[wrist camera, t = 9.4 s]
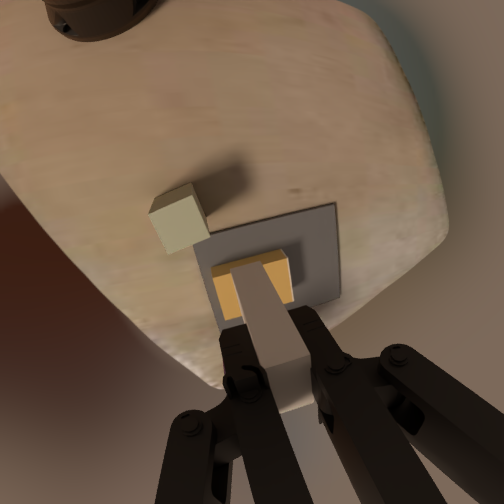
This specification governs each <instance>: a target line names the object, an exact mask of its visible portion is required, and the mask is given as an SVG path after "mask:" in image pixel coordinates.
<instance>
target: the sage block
mask: <svg viewBox="0 0 504 504" xmlns="http://www.w3.org/2000/svg"><path fill="white" fill-rule="evenodd" d="M148 215H149V218H150V220H151V222H152V224H153V226H154V228H155V230H156V232H157V234H158V236H159V238H160V240H161V242H162V244H163V246H164V248H165V250H166V252H167V254H168V255H169V254H172V253H174V252H176V251H179V250H181V249H183V248H186V247H188V246H190V245H193V244H195V243H198V242H200V241H202V240H205V239H207V238H210V233H209V228H208V224H207V219H206V216H205V214H204V211H203V209H202V207H201V204H200V202H199V200H198V197H197V195H196V193H195V190H194V188H193V185H192V183H188V184H186V185H184V186H181V187H179V188H177V189H175V190H172V191H170V192H168V193H165V194H163V195H161V196H159V197H157V198H155V199H154V201H153V204H152V206H151V208H150V211H149V213H148Z"/></svg>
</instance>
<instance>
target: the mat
mask: <svg viewBox="0 0 504 504" xmlns="http://www.w3.org/2000/svg"><path fill="white" fill-rule="evenodd" d="M193 248H194V251H195V254H196V258H197V261H198V265H199V268H200V271H201V274H202V278H203V281H204V284H205V287H206V291H207V294H208V297H209V300H210V303H211V306H212V309H213V312H214V315H215V318H216V321H217V325H218V328H219V331H220V333H221V332H222V330H223V329H227V328H231V327H234V326H238V325H242V324H244V321H243V317H242V316H240V317H237V318H233V319H229V320H225V318H224V315H223V312H222V308H221V305H220V302H219V299H218V295H217V292H216V288H215V285H214V282H213V278H212V273H211V268H210V267H214V266H218V265H222V264H225V263H229V262H233V261H237V260H241V259H244V258H248V257H252V256H256V255H259V254H263V253H267V252H271V251H274V250H278V249H282V250H283V252H284V253H285V254H286V256H287V257H288V261H289V268H290V275H291V282H292V290H293V297H294V301H293V302H289V303H286V304H284V306H285V308H286V310H287V311H288V310H291V309H294V308H298V307H301V306H304V305H307V306H308V307H313V306H316V305H319V304H322V303H325V302H329V301H332V300H335V299H338V298H340V289H339V264H338V245H337V230H336V217H335V205H334V204H333V203H332V204H328V205H323V206H319V207H315V208H311V209H306V210H302V211H298V212H294V213H290V214H286V215H281V216H277V217H273V218H269V219H265V220H261V221H257V222H253V223H249V224H245V225H241V226H237V227H233V228H229V229H226V230H222V231H218V232H214V233H210V238H207V239H205V240H202V241H200V242H198V243H195V244H193Z"/></svg>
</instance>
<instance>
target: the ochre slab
mask: <svg viewBox="0 0 504 504" xmlns="http://www.w3.org/2000/svg"><path fill="white" fill-rule="evenodd" d="M257 261H261V263H262V265H263V267H264V269H265V271H266V273H267V274H268V276H269V278H270V280H271V282H272V284H273V286H274V287H275V289H276V291H277V293H278V295H279V297H280V299H281V300H282V302H283V304H286V303H289V302H293V301H294V297H293V290H292V282H291V275H290V268H289V261H288V257H287V256H286V254H285V253H284V252H283V250H282V249H278V250H274V251H271V252H267V253H263V254H259V255H256V256H252V257H248V258H244V259H241V260H237V261H233V262H229V263H225V264H222V265H218V266H214V267H210V268H211V273H212V278H213V282H214V285H215V288H216V292H217V295H218V299H219V302H220V305H221V308H222V312H223V315H224V318H225V320H229V319H233V318H237V317H240V316H242V314H241V311H240V307H239V303H238V299H237V295H236V291H235V288H234V284H233V280H232V276H231V272H230V269H231V268H235V267H239V266H242V265H246V264H250V263H254V262H257Z"/></svg>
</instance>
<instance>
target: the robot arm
mask: <svg viewBox="0 0 504 504" xmlns="http://www.w3.org/2000/svg"><path fill="white" fill-rule="evenodd" d="M42 1H44V2H45V6H46V10H47V14H48V18H49V21H50V23H51V24H52V26H53V27H54V28H55V29H56V30H57V31H58V32H59V33H61V34H62V35H64V36H65V37H67V38H69V39H72V40H75V41H80V42H95V41H100V40H105V39H108V38H111V37H114V36H116V35H119V34H121V33H123V32H125V31H126V30H128V29H130V28H131V27H133V26H134V25H136V24H137V23H138V22H140V21H141V20H142V19H143V18H144V17H145V16H146V15H147V14H148V13H149V12H150V11H151V10H152V9H153V7H154V6H155V4H156V3H157V1H158V0H42ZM230 272H231V276H232V280H233V284H234V288H235V291H236V295H237V299H238V303H239V307H240V311H241V314H242V317H243V321H244V324H242V325H238V326H234V327H231V328H227V329H223V330H222V332H221V335H220V338H219V342H220V347H221V352H222V357H223V362H224V367H225V372H226V373H225V375H224V377H223V386H224V389H225V391H226V393H227V396H226V398H225V399H224V400H223V401H222V403H221V404H219V405H218V406H216V407H215V408H213V409H211V410H209V411H207V412H205V413H204V412H203V411H200V410H188V411H185V412H183V413H181V414H179V415H178V416H177V417H176V418H175V419H174V421H173V423H172V425H171V428H170V432H169V437H168V441H167V446H166V450H165V455H164V460H163V464H162V469H161V474H160V479H159V484H158V489H157V494H156V499H155V504H230V496H231V482H232V467H233V460H234V459H236V458H238V457H240V456H241V455H242V457H243V461H244V464H245V469H246V472H247V476H248V480H249V484H250V488H251V491H252V495H253V499H254V502H255V504H314V503H313V501H312V498H311V496H310V493H309V491H308V488H307V485H306V483H305V480H304V478H303V475H302V472H301V470H300V467H299V464H298V462H297V459H296V457H295V454H294V451H293V448H292V446H291V444H290V441H289V438H288V435H287V432H286V430H285V427H284V424H283V421H282V419H281V416H280V413H283V412H286V411H290V410H293V409H296V408H299V407H302V406H305V405H308V404H311V403H313V402H314V398H315V400H316V402H317V404H318V419H319V424H321V423H322V422H323V424H324V426H325V428H326V430H327V432H328V435H329V437H330V439H331V441H332V443H333V445H334V447H335V449H336V451H337V454H338V456H339V458H340V460H341V462H342V464H343V466H344V469H345V471H346V473H347V475H348V477H349V479H350V481H351V483H352V486H353V488H354V489H355V492H356V494H357V496H358V498H359V500H360V502H361V504H447V503H446V501H445V499H444V498H443V496H442V494H441V493H440V491H439V489H438V488H437V486H436V484H435V483H434V481H433V479H432V478H431V476H430V475H429V473H428V471H427V470H426V468H425V467H424V465H423V463H422V462H421V460H420V459H419V457H418V455H417V454H416V452H415V451H414V449H413V448H412V446H411V444H412V445H413V446H414V447H415V448H416V449H417V450H418V451H419V452H421V453H422V454H423V455H424V456H425V457H426V458H427V459H429V460H430V461H431V462H432V463H433V464H434V465H435V466H436V467H437V468H439V469H440V470H441V471H442V472H443V473H444V474H445V475H447V476H448V477H449V478H450V479H451V480H452V481H454V482H455V483H456V484H457V485H458V486H459V487H461V488H462V489H463V490H464V491H465V492H466V493H468V494H469V495H470V496H471V497H472V498H474V499H475V500H476V501H477V502H478V503H479V504H504V414H503V413H501V412H500V411H498V410H497V409H496V408H495V407H493V406H492V405H491V404H489V403H488V402H487V401H485V400H484V399H482V398H481V397H479V396H478V395H477V394H475V393H474V392H473V391H471V390H470V389H469V388H467V387H466V386H464V385H463V384H462V383H460V382H459V381H458V380H456V379H455V378H453V377H452V376H451V375H449V374H448V373H446V372H445V371H444V370H442V369H441V368H440V367H438V366H437V365H435V364H434V363H433V362H431V361H430V360H428V359H427V358H426V357H424V356H423V355H421V354H420V353H418V352H417V351H416V350H414V349H413V348H411V347H409V346H407V345H404V344H392V345H390V346H388V347H386V348H385V349H384V350H383V351H382V352H381V355H380V357H373V358H364V359H358V358H353V357H352V356H351V355H349V354H347V353H344V352H342V350H341V349H340V347H339V346H338V344H337V343H336V341H335V340H334V338H333V337H332V335H331V334H330V332H329V331H328V329H327V328H326V327H325V325H324V323H323V322H322V320H321V319H320V317H319V316H318V314H317V313H316V311H315V310H313V309H312V308H310V307H308V306H307V305H304V306H301V307H298V308H294V309H291V310H288V311H287V310H286V308H285V306H284V304H283V302H282V300H281V299H280V297H279V295H278V293H277V291H276V289H275V287H274V286H273V284H272V282H271V280H270V278H269V276H268V274H267V273H266V271H265V269H264V267H263V265H262V263H261V261H257V262H254V263H250V264H246V265H242V266H239V267H235V268H231V269H230ZM409 442H410V443H411V444H410V443H409Z"/></svg>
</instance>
